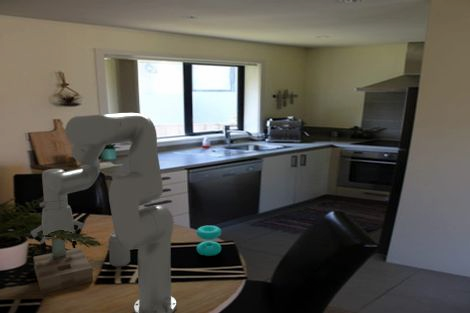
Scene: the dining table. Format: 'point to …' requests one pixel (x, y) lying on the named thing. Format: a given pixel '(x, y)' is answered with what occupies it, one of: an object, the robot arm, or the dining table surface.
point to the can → (118, 252)
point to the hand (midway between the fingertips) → (59, 249)
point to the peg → (58, 249)
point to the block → (62, 270)
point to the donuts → (208, 246)
